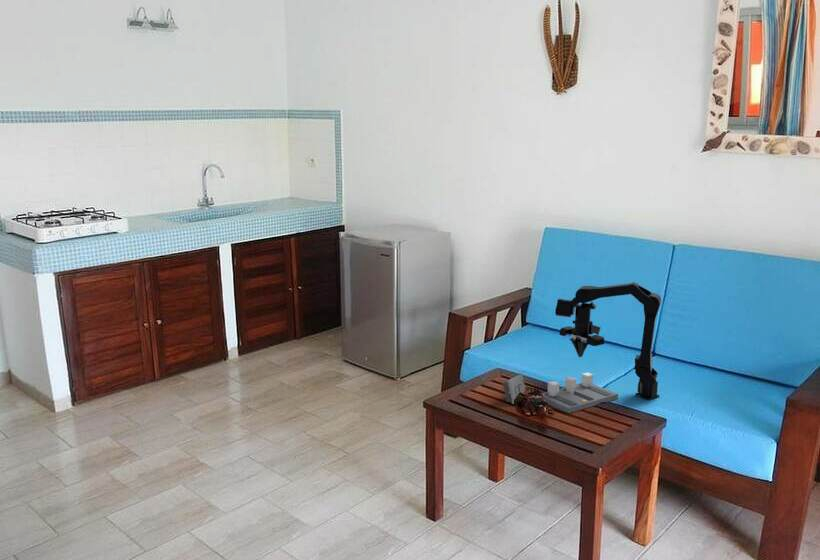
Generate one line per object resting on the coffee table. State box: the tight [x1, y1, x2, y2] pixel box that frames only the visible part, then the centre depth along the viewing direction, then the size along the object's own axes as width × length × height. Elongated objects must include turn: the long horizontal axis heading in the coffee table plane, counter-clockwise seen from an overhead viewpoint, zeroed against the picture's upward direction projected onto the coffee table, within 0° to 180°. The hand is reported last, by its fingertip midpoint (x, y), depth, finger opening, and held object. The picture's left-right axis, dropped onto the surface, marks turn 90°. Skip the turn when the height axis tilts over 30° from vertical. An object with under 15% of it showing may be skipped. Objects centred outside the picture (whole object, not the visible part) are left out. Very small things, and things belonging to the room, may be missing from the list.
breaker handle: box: [564, 376, 577, 394], centre depth 272 cm, size 3×3×6 cm
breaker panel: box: [541, 371, 619, 414], centre depth 269 cm, size 16×26×7 cm, turn 123°
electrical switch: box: [502, 374, 526, 405], centre depth 267 cm, size 9×5×9 cm, turn 141°
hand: (580, 356), depth 281 cm, fingers closed
